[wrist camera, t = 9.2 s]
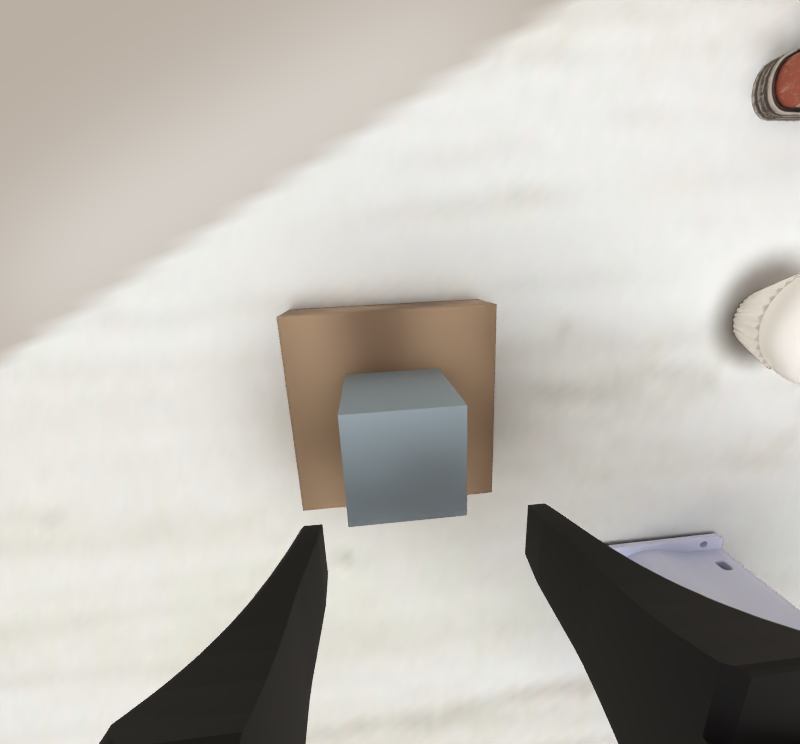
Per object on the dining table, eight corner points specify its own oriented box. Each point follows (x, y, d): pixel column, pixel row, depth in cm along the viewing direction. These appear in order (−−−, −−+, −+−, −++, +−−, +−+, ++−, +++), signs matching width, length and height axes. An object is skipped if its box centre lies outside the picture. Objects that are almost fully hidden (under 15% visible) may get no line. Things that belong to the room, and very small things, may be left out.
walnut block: (477, 299, 20) (496, 304, 17) (475, 463, 23) (491, 492, 20) (289, 309, 19) (276, 317, 16) (311, 478, 22) (303, 510, 19)
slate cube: (439, 368, 18) (467, 405, 13) (440, 452, 19) (466, 515, 14) (344, 374, 17) (338, 415, 13) (352, 460, 19) (348, 526, 14)
